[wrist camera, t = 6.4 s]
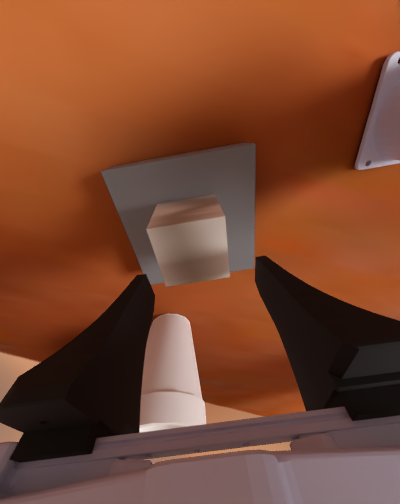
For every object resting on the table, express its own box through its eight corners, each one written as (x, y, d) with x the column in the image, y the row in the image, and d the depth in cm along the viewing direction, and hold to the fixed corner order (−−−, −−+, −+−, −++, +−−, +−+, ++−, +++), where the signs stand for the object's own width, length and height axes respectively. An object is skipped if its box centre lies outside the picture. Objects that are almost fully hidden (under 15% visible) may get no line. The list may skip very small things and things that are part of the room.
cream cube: (214, 194, 15) (225, 216, 11) (220, 244, 18) (230, 276, 14) (157, 203, 16) (146, 229, 11) (170, 252, 18) (166, 286, 14)
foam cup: (134, 309, 27) (99, 428, 16) (196, 303, 27) (203, 417, 16) (149, 345, 32) (129, 453, 21) (201, 340, 32) (208, 445, 21)
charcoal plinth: (245, 142, 16) (255, 143, 14) (246, 253, 23) (254, 268, 20) (113, 165, 16) (100, 171, 14) (152, 268, 23) (148, 284, 20)
